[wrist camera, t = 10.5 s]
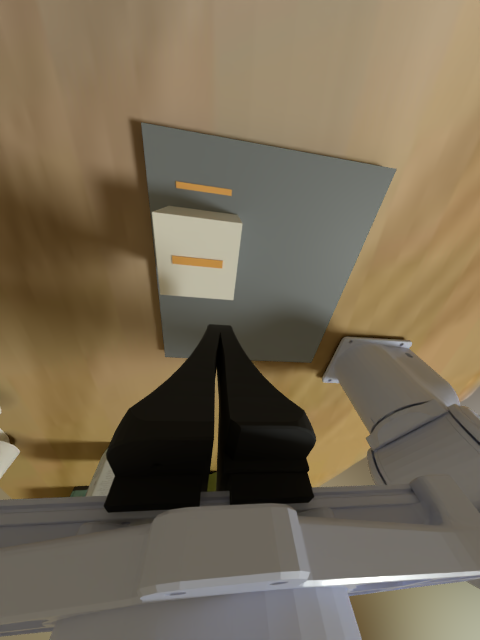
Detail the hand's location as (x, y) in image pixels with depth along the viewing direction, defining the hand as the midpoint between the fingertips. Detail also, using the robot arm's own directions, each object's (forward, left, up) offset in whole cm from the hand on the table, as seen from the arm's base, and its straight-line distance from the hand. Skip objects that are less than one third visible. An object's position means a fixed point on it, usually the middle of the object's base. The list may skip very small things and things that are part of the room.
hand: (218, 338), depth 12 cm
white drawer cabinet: (+2, -3, -8) cm, 9 cm away
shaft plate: (-3, 0, -9) cm, 10 cm away
